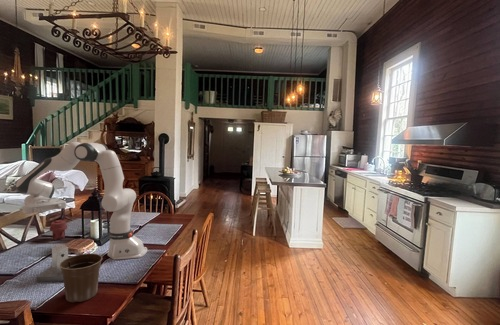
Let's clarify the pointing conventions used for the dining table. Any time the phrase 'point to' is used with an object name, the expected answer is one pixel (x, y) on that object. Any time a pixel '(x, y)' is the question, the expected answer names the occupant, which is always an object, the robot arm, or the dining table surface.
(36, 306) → the dining table surface
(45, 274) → the steel plate
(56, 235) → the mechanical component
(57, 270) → the off-white rectangular block
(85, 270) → the plant pot
